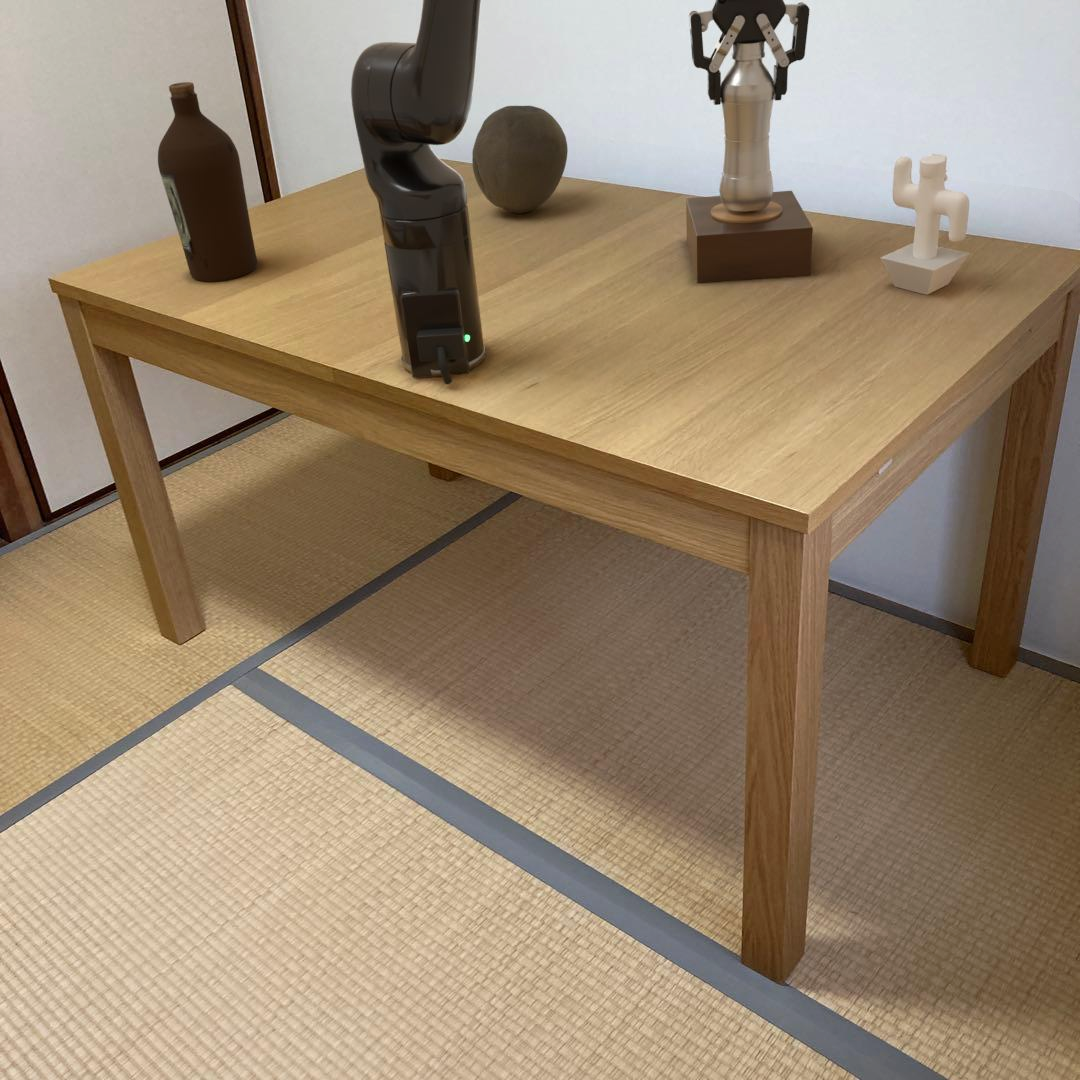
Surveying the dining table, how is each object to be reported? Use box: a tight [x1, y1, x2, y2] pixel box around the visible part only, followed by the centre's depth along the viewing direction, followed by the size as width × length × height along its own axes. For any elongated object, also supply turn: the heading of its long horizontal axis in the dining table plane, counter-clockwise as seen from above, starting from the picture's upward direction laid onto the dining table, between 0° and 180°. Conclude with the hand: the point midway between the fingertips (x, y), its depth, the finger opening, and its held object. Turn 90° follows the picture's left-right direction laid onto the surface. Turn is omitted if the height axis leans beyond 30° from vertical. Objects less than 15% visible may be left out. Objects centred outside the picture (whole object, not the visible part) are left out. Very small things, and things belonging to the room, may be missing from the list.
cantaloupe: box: [471, 105, 569, 214], centre depth 173 cm, size 14×14×15 cm
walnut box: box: [685, 190, 814, 284], centre depth 149 cm, size 16×14×6 cm
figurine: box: [879, 153, 970, 296], centre depth 133 cm, size 7×9×15 cm
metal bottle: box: [718, 41, 775, 212], centre depth 142 cm, size 6×7×20 cm
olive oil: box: [157, 81, 258, 282], centre depth 157 cm, size 11×11×25 cm
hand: (747, 100), depth 140 cm, fingers closed on metal bottle, 6 cm apart
